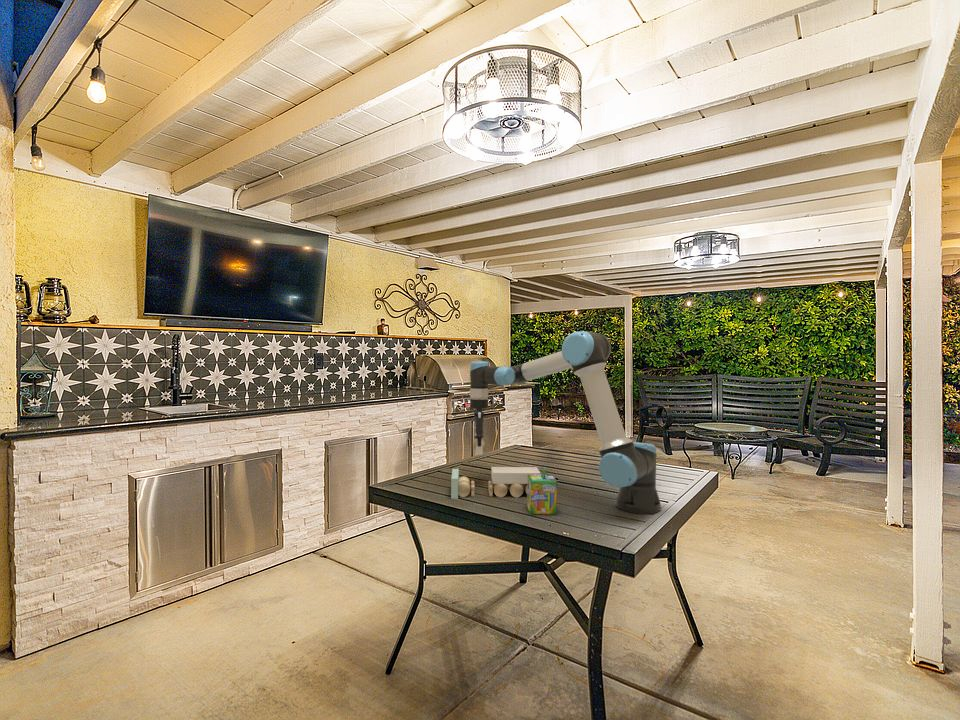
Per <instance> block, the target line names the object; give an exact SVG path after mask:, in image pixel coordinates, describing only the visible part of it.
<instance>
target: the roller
mask: <svg viewBox="0 0 960 720" xmlns="http://www.w3.org/2000/svg"><path fill="white" fill-rule="evenodd" d="M472 449H473V452H474V454H476V439H475V438H474V440H473V441H472ZM486 449H487V447H486V443H485V439H483V454H484V453H485V452H486V451H487V450H486ZM483 454H476V455H477V456H478V455H479V456H481V455H483Z"/></svg>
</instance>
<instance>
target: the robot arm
mask: <svg viewBox="0 0 960 720" xmlns="http://www.w3.org/2000/svg"><path fill="white" fill-rule="evenodd" d="M611 352H612V345H611V342H610V340H609V338H607V337H606V336H605V335H603V334H602V333H599V332H589V331H584V330H580V331H575V332H572V333H570V334H569V335H567V336H566V338H564V341H563V343H562V345H561V350H560V351H557V352H554V353H552V354H549V355H545V356H542V357H539V358H536V359H534V360H530V361H527V362H524V363H521V364H518V365H514V366H511V365H510V366H505V365H504V366H501V365H500V366H489V362H488V361H480V360H479V361H472V362H471V363H470V368H469V369H470V370H469V378H470V381H469V382H470V388H469V398H471V399H470V400H469V408H470V409H473V410H475V412H473V414H474V415H473V417H474V423H475V429H474V430H475V431H474V432H475V433H474V435H475V436H474V440H475V439H476V453H475V455H477V454H482V455H483V454H484V453H483V440H484V430H483V427H484V426H483V424H484V418H485V413H484V411H483V409H484V410H485V409H488V408H489V399H488V398H489V393H490V392H491V391H490V390H489V386H490V385H491V386H492V385H493V386H502V387H504V386H505V387H506V386H511V385H523V384H526V383H528V382H529V381H533V380H536V379H540V378H542V377H546V376H550V375H552V374H557V373H561V372H563V371H566V370H569V369H572V372H573V374H574V375H575V376H577V377H579V379H580V382H581V384H582V387H583V391H584V393H585V396H586V397H585V398H586V400H587V401H586V402H587V403H588V407H589V410H590V412H591V416H592V418H593V422H594V425H595V428H596V431H597V434H598V438H599V441H600V444H601V445H600V447H599V449H598V452H599V455H600V461H599V463H598V471H599V474H600V477H601V478H602V479H603V481H604V482H605V483H606V484H608V485H610V486H611V487H614V488H618V489H619V490H618V493H617V495H616V499H615V506H616V507H617V508H618V509H620V510H622V511H623V512H629V513H633V514H641V515H644V514H645V515H649V514H656V513H659V512H660V511H661V509H662V508H661V507H662V503H661V500H660V497H659V494H658V490H657V486H656V485H657V481H656V480H657V455H658V453H657V447H656V445H655V444H652V443H647V442H646V443H645V442H639V441H633V439H630V438H629V437H628V436H627V435H626V432H625V429H624V426H623V423H622V420H621V417H620V413H619V411H618V408H617V404H616V402H615V399H614V396H613V393H612V389H611V386H610V384H609V381H608V377H607V375H606V371H605V368H606V367H607V360H608V358H609V357H610V355H611Z"/></svg>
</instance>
